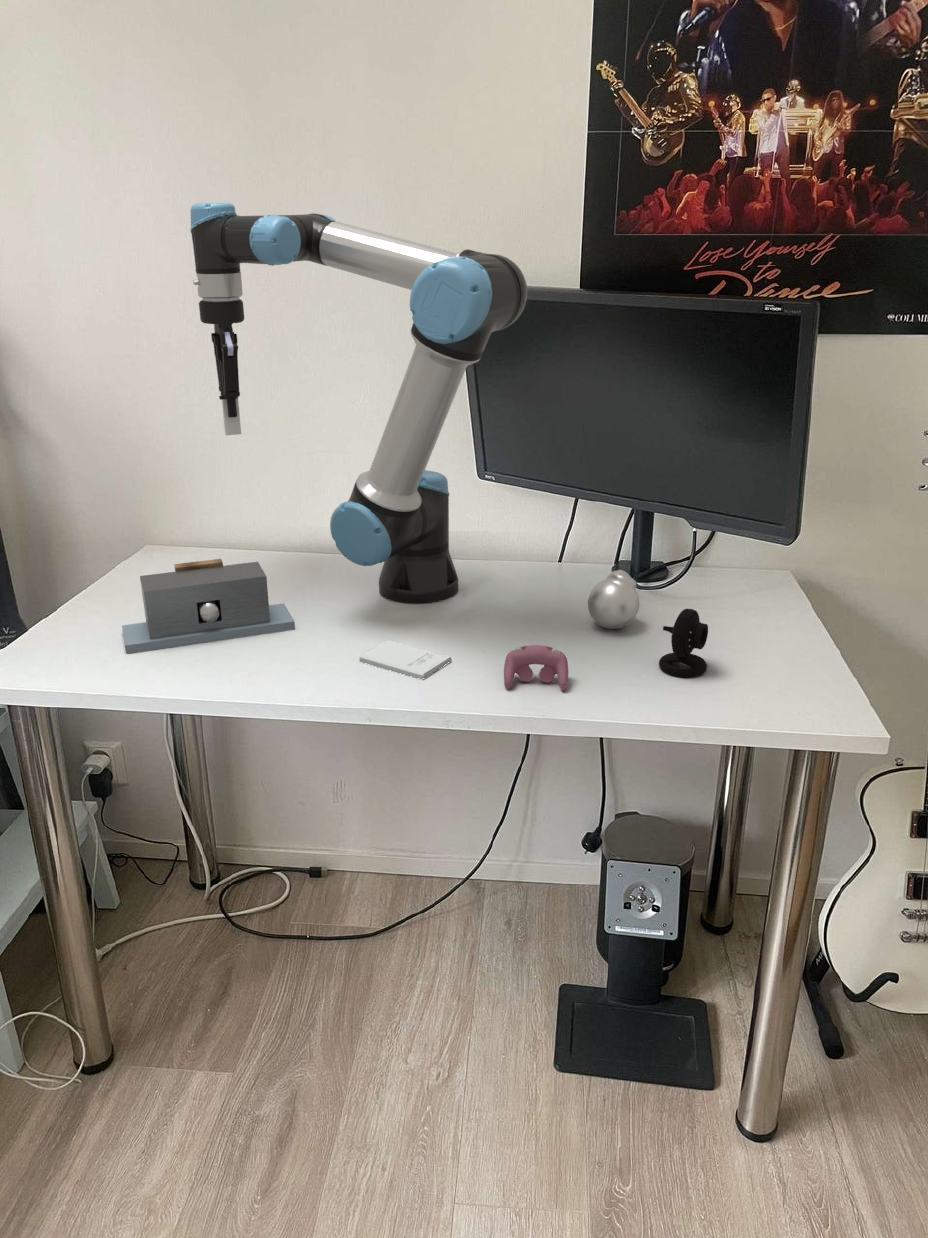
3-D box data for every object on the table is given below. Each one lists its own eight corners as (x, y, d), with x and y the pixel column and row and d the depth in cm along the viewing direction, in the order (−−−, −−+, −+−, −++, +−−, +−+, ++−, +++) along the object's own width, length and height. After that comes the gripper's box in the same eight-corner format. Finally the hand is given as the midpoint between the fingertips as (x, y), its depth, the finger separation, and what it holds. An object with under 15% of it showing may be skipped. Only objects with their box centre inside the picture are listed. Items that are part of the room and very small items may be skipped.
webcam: (696, 683, 155) (702, 623, 151) (651, 672, 159) (655, 613, 155) (713, 664, 161) (719, 606, 158) (669, 654, 165) (674, 597, 161)
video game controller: (567, 691, 156) (568, 646, 157) (568, 691, 152) (569, 645, 152) (503, 689, 157) (505, 644, 158) (502, 689, 153) (504, 643, 153)
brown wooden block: (226, 611, 182) (220, 558, 178) (236, 635, 172) (231, 579, 168) (180, 617, 179) (174, 564, 175) (188, 642, 169) (181, 586, 165)
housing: (284, 610, 183) (280, 558, 179) (295, 629, 175) (291, 575, 171) (123, 633, 174) (115, 578, 170) (126, 653, 166) (118, 597, 162)
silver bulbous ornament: (650, 631, 174) (654, 577, 170) (602, 640, 170) (605, 585, 166) (623, 613, 181) (626, 560, 178) (577, 621, 178) (579, 567, 174)
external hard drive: (390, 647, 169) (451, 664, 163) (359, 665, 163) (422, 683, 157) (389, 639, 169) (451, 655, 163) (359, 655, 162) (422, 673, 156)
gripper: (193, 296, 179) (207, 428, 188) (203, 302, 168) (217, 443, 177) (236, 294, 182) (247, 425, 191) (248, 301, 171) (260, 439, 180)
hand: (233, 433), depth 184 cm, fingers closed
